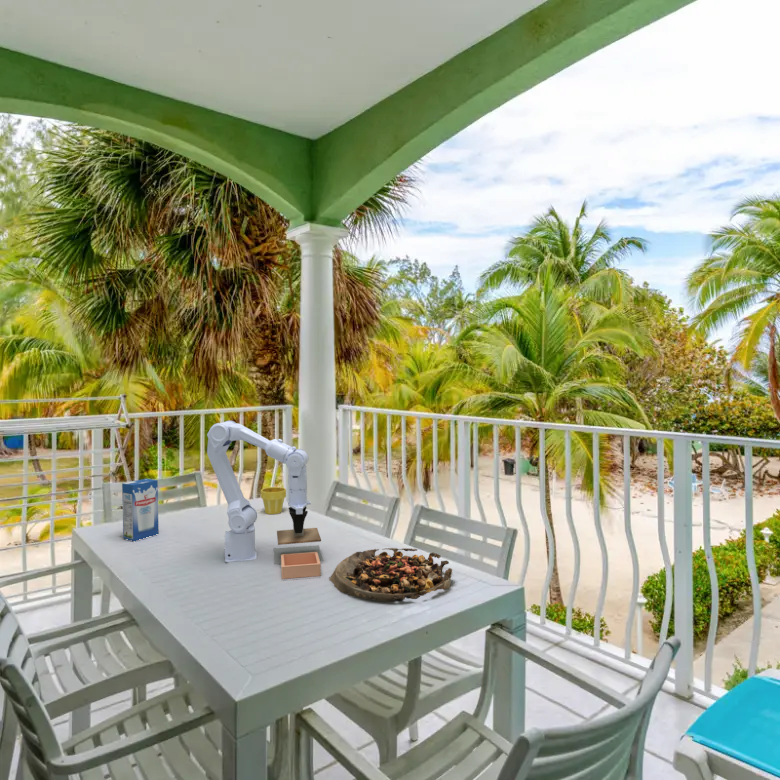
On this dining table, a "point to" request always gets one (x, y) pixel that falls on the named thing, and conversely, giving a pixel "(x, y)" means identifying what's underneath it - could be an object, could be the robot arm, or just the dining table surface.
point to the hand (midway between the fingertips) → (298, 531)
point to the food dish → (390, 575)
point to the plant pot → (273, 499)
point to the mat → (295, 550)
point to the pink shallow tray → (300, 565)
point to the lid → (298, 536)
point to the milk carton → (140, 509)
